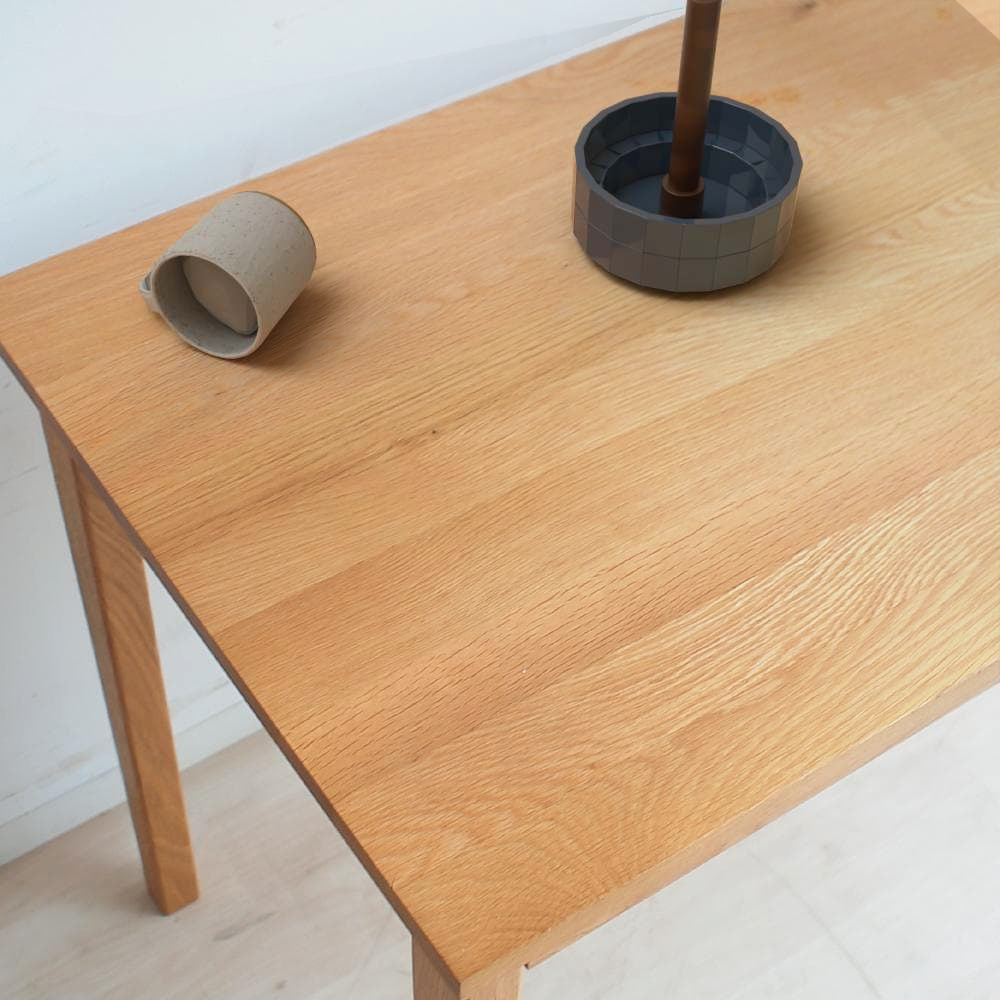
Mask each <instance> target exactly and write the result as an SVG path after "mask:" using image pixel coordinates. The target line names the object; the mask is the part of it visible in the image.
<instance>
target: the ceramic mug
mask: <svg viewBox="0 0 1000 1000" xmlns="http://www.w3.org/2000/svg"><path fill="white" fill-rule="evenodd" d="M317 259H318V258H317V246H316V242H315V238H314V236H313V234H312V232H311V230H310V228H309V226H308V225H307V222H305V220H304V218H303V217H302V216H301V215H300V214H299V213H298V212H297V211H296V210H295V209H294V208H292V206H290V205H289V204H288V203H286V202H285V201H284V200H283V199H280V198H278V197H276V196H274V195H272V194H270V193H266V192H263V191H258V190H244V191H240V192H236V193H234V194H231V195H229V196H227V197H226V198H224V199H223V200H221V201H219V202H218V203H217V204H216V205H214V206H212V207H211V209H209V210H208V211H207V212H206V213H205V214H204V215H203V217H201V218H200V220H199V221H198V222H197V223H195V224H194V225H193V226H191V228H190V229H189V230H188V231H186V232H185V233H184V234H183V235H182V236H181V237H180V238H179V239H178V240H176V241H175V242H174V243H173V244H172V245H171V246H170V247H168V248H167V249H166V250H165V251H164V252H163V253H162V254H161V255H160V256H159V257H158V259H156V261H155V262H154V264H153V267H152V268H151V269H150V270H149V271H147V273H145V275H144V276H143V278H142V279H141V280H140V281H139V284H138V292H139V294H140V295H141V297H142V299H143V300H144V302H145V304H146V307H147V308H148V309H149V310H150V311H151V312H152V313H154V314H160V316H161V318H163V320H164V322H165V323H166V324H167V325H168V326H169V328H170V329H172V331H173V332H174V333H175V334H176V335H177V336H178V337H180V338H181V339H182V340H183V341H185V343H187V344H188V345H190V346H192V347H193V348H195V349H197V350H199V351H201V352H202V353H205V354H208V355H211V356H212V357H213V356H214V357H217V358H222V359H225V360H226V359H227V360H229V359H230V360H231V359H239V358H245V357H248V356H249V355H251V354H252V353H253V352H255V351H256V350H257V349H258V348H260V346H261V345H262V344H263V343H264V341H265V340H266V338H267V337H268V336H269V335H270V333H271V332H272V330H273V329H274V328H275V326H276V325H277V324H278V323H279V321H280V320H281V319H282V317H283V316H284V315H285V314H286V312H287V311H288V310H289V308H290V307H291V306H292V304H293V303H295V301H296V300H297V299H298V297H299V296H300V295H301V294H302V292H303V291H304V290H305V288H306V287H307V285H308V283H309V281H310V279H311V277H312V275H313V272H314V270H315V268H316V264H317Z"/></svg>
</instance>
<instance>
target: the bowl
mask: <svg viewBox="0 0 1000 1000" xmlns="http://www.w3.org/2000/svg"><path fill="white" fill-rule="evenodd" d="M676 100H677V91H659V92H652V93H648V94H643V95H638V96H633V97H628V98H625V99H623V100H621V101H619V102H617V103H613V104H612V105H610V106H608V107H606V108H603V109H601V110H600V111H599V112H598V113H597V114H596V115H595V116H593V118H591V119H590V120H589V121H588V122H587V123H586V124H584V126H582V128H581V131H580V133H579V135H578V137H577V140H576V142H575V145H574V146H573V167H572V185H571V187H572V188H571V210H570V213H571V214H570V215H571V224H572V233H573V235H574V237H575V239H576V240H577V241H578V243H579V245H580V246H581V247H582V249H583V251H584V253H585V254H586V255H587V256H588V257H589V258H590V259H591V260H593V261H594V262H595V263H597V264H598V265H599V266H601V267H602V268H603V269H604V270H606V271H607V272H608V273H610V274H612V275H615V276H617V277H620V278H622V279H624V280H627V281H629V282H632V283H634V284H636V285H639V286H640V287H641V286H642V287H647V288H651V289H652V288H653V289H658V290H664V291H668V292H673V293H675V292H676V293H680V292H681V293H685V292H686V293H687V292H689V293H690V292H713V291H717V290H721V289H726V288H729V287H734V286H738V285H742V284H745V283H747V282H749V281H751V280H752V279H755V278H757V277H758V276H760V275H761V274H763V273H766V272H767V271H769V270H770V269H771V268H772V266H774V264H775V263H776V262H777V261H778V260H779V259H780V257H781V256H783V254H784V253H785V252H786V249H788V244H789V239H790V235H791V231H792V225H793V222H794V216H795V210H796V205H797V200H798V194H799V190H800V189H799V188H800V184H801V178H802V172H803V167H804V162H803V157H802V154H801V151H800V148H799V143H798V141H797V140H796V139H795V137H794V136H792V134H791V133H790V132H789V131H788V129H787V128H786V127H785V126H784V125H783V124H782V122H780V121H778V120H776V119H775V118H773V117H772V116H770V115H769V114H768V113H765V112H764V111H762V110H760V108H757V107H755V106H753V105H750V104H747V103H744V102H742V101H739V100H735V99H733V98H730V97H727V96H723V95H717V94H711V93H710V101H709V110H708V118H707V126H706V134H705V142H704V150H703V158H702V166H701V174H700V176H701V177H702V178H703V179H704V181H705V193H704V201H703V208H702V216H701V219H680V218H674V217H669V216H663V215H658V213H659V203H660V193H661V183H662V179H663V177H664V176H665V175H666V174H668V173H669V167H670V157H671V148H672V138H673V129H674V119H675V109H676Z"/></svg>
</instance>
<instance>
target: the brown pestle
mask: <svg viewBox="0 0 1000 1000" xmlns="http://www.w3.org/2000/svg"><path fill="white" fill-rule="evenodd" d="M722 3H723V0H686V4H685V13H684V23H683V24H684V25H683V34H682V43H681V52H680V61H679V62H680V64H679V73H678V82H677V91H676V92H677V100H676V109H675V119H674V129H673V138H672V148H671V157H670V167H669V173H668V174H666V175H665V176H664V177H663V179H662V183H661V193H660V203H659V213H658V215H663V216H669V217H674V218H680V219H701V216H702V208H703V201H704V193H705V181H704V179H703V178H702V177H701V176H700V174H701V166H702V158H703V150H704V142H705V134H706V126H707V118H708V110H709V101H710V94H711V93H712V84H713V76H714V69H715V68H714V67H715V61H716V52H717V43H718V35H719V29H720V22H721V21H720V19H721V12H722Z"/></svg>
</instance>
